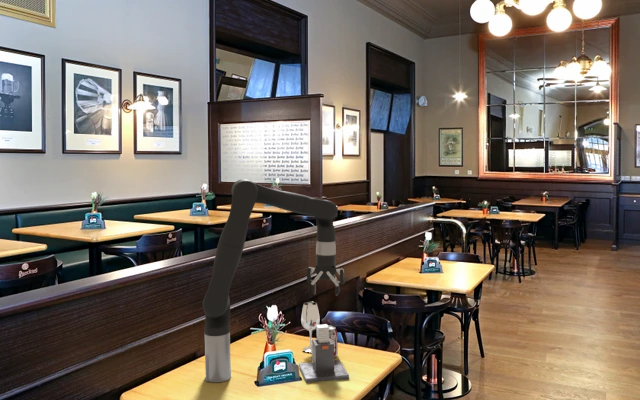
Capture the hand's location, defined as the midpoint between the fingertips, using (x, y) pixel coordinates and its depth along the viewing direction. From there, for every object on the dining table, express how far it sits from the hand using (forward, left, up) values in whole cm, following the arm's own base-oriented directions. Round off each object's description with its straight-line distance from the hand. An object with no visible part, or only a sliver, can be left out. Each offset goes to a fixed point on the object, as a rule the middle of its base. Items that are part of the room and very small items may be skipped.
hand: (325, 294), depth 218 cm
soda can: (+4, +13, -29) cm, 32 cm away
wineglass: (-2, +22, -29) cm, 37 cm away
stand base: (-2, -4, -29) cm, 29 cm away
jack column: (-2, -4, -27) cm, 27 cm away
